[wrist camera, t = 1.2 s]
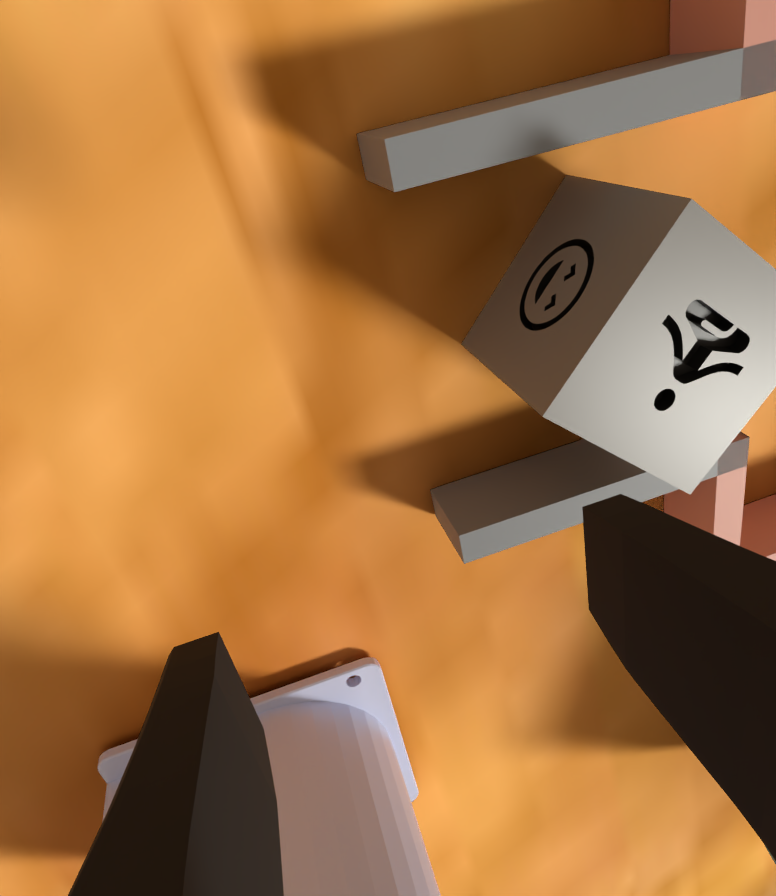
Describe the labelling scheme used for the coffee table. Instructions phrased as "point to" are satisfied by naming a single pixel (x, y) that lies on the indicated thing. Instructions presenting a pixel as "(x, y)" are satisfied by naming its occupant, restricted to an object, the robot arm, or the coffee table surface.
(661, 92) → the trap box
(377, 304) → the coffee table surface
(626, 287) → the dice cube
